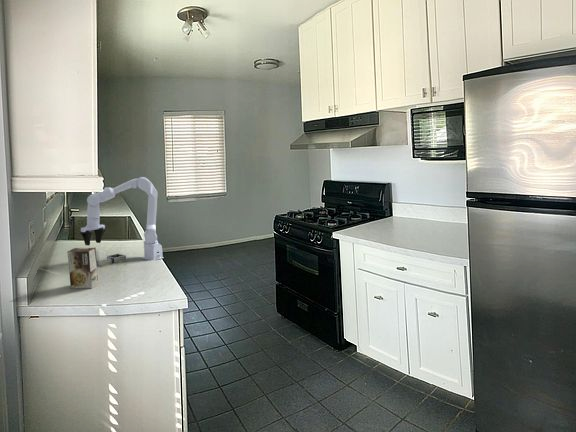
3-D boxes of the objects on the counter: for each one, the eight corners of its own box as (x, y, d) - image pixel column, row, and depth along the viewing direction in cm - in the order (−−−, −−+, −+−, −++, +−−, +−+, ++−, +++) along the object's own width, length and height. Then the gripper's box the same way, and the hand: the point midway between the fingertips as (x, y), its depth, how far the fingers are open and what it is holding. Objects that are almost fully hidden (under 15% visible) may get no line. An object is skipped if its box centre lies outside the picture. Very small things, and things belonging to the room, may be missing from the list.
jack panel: (127, 261, 205) (127, 255, 204) (99, 268, 191) (99, 262, 191) (117, 258, 209) (117, 253, 209) (88, 265, 196) (88, 259, 195)
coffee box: (98, 283, 168) (96, 247, 166) (91, 288, 162) (89, 251, 159) (77, 283, 168) (74, 247, 165) (69, 288, 161) (66, 251, 159)
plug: (107, 263, 197) (106, 250, 196) (99, 265, 194) (98, 251, 193) (101, 262, 200) (100, 249, 199) (94, 263, 196) (93, 250, 195)
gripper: (97, 215, 205) (96, 240, 206) (75, 218, 191) (75, 245, 192) (108, 217, 203) (107, 242, 205) (87, 220, 189) (87, 247, 191)
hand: (92, 244), depth 198 cm, fingers open, 7 cm apart
